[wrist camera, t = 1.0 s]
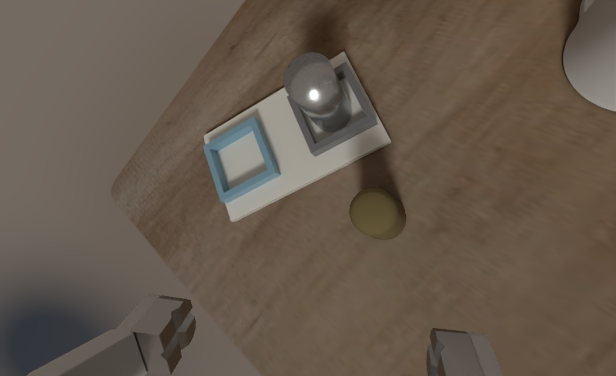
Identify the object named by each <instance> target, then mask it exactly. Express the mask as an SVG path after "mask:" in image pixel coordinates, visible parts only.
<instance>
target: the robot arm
mask: <svg viewBox="0 0 616 376" xmlns="http://www.w3.org/2000/svg"><path fill="white" fill-rule="evenodd" d="M563 64H564V69H565V73H566V75H567V78H568V80H569V81H570V83H571V84H572V86H573V87H574V88H575V89H576V91H577V92H578V93H580V94H581V95H582V96H583V97H584V98H586V99H587V100H589V101H590V102H592V103H594V104H596V105H598V106H600V107H603V108H605V109H608V110H612V111H616V0H582V2H581V5H580V12H579V21H578V23H577V25H576V27H575V28H574V30H573V31H572V33H571V34H570V36H569V38H568V40H567V42H566V45H565V49H564V54H563ZM191 309H192V304H191V301H190V300H188V299H182V298H175V297H169V296H160V295H153V294H149V295H147V296H145V297H144V298H143V299H142V300H141V301H140V303H139V304H138V305H137V306H136V307H135V308H134V309H133V310H132V312H131V313H130V314H129V315H128V316H127V317H126V318H125V319H124V321H123V322H122V323H121V324H120V325H119V326H118V327H117V328H116V330H109V331H108V332H106V333H104V334H102V335H100V336H98V337H96V338H94V339H93V340H91V341H89V342H87V343H85V344H83V345H81V346H79V347H78V348H76V349H74V350H72V351H70V352H68V353H67V354H64V355H63V356H61V357H59V358H57V359H55V360H54V361H52V362H50V363H48V364H46V365H44V366H42V367H40V368H38V369H37V370H35V371H33V372H31V373H29V374H28V375H27V376H145V375H146V374H147V372H152V373H160V374H167V375H171V374H172V372H173V371H174V369H175V367H176V365H177V364H178V362H179V360H180V359H181V357H182V355H181V350H182V349H184V348H185V347H187V346H188V345H189V344H190V342H191V340H192V338H193V335H194V332H195V328H196V322H195V317H194V316H193V315H192V314H191V313H190V310H191ZM430 340H431V345H430V346H428V349H427V359H426V365H427V373H428V376H504V375H503V372H502V370H501V367H500V365H499V363H498V360H497V358H496V356H495V353H494V351H493V348H492V346H491V344H490V341H489V339H488V337H487V336H486V335H485V334H483V333H474V332H465V331H456V330H447V329H438V328H432V330H431V334H430Z"/></svg>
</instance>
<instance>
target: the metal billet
mask: <svg viewBox="0 0 616 376" xmlns="http://www.w3.org/2000/svg"><path fill="white" fill-rule="evenodd" d="M284 87H285V90H286V92H287V93H288V95H289V96H290V97H291V98H292V99H293V100H294V101H295V102H296V103H297V105H298V106H299V107H300V108H301V109H302V110H303V111H304V112H305V113H306V114H307V116H308V117H309V118H310V119H311V120H312V121H313V122H314V123H315V124H316V125H317V127H318V128H320V129H321V130H323V131H326V132H335V131H338V130H340V129H342V128H343V127H345V126H346V125H347V123H348V122H349V121H350V119H351V116H352V105H351V102H350V100H349V98H348V96H347V94H346V92H345V90H344V89H343V87H342V85H341V83H340V81H339V79H338V77H337V75H336V73H335V71H334V69H333V67H332V65H331V63H330V61H329V60H328V59H327V58H326V57H325V56H324V55H322V54H320V53H315V52H310V53H305V54H302V55H300V56H298V57H297V58H296V59H294V60H293V61H292V62H291V63H290V65H289V66H288V68H287V70H286V72H285V75H284Z"/></svg>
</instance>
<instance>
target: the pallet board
mask: <svg viewBox="0 0 616 376" xmlns="http://www.w3.org/2000/svg"><path fill="white" fill-rule="evenodd" d="M329 61H330V63H331V65H332V67H333V69H334V71H335V73H336V75H337V77H338V79H339V81H340V83H341V85H342V87H343V89H344V90H345V92H346V94H347V96H348V98H349V100H350V102H351V105H352V116H351V119H350V121H349V122H348V123H347V125H346V126H345V127H343V128H342V129H340V130H338V131H335V132H326V131H323V130H321V129H320V128H318V127H317V125H316V124H315V123H314V122H313V121H312V120H311V119H310V118H309V117H308V116H307V114H306V113H305V112H304V111H303V110H302V109H301V108H300V107H299V106H298V105H297V103H296V102H295V101H294V100H293V99H292V98H291V97H290V96H289V95H288V93H287V92H286V90H285V87H284V88H282V89H281V90H279V91H277V92H276V93H274V94H272V95H271V96H269V97H267V98H266V99H264V100H262V101H261V102H259V103H258V104H256V105H254V106H253V107H251V108H249V109H248V110H246V111H244V112H243V113H241V114H239V115H238V116H236V117H234V118H233V119H231V120H229V121H228V122H226V123H224V124H223V125H221V126H219V127H218V128H216V129H214V130H213V131H211V132H209V133H208V134H206V135H204V136H203V137H204V140H205V143H206V145H204V146H203V148H204V151H205V154H206V158H207V161H208V164H209V167H210V170H211V173H212V176H213V179H214V182H215V185H216V189H217V192H218V195H219V198H220V201H221V202H225V204H226V207H227V210H228V213H229V216H230V219H231V222H235V221H237V220H239V219H241V218H243V217H245V216H247V215H249V214H251V213H253V212H255V211H257V210H259V209H261V208H263V207H265V206H267V205H269V204H271V203H273V202H275V201H277V200H279V199H281V198H283V197H285V196H287V195H289V194H291V193H293V192H295V191H297V190H299V189H301V188H303V187H305V186H307V185H309V184H311V183H313V182H315V181H317V180H319V179H320V178H322V177H324V176H326V175H328V174H330V173H332V172H334V171H336V170H338V169H340V168H342V167H344V166H346V165H348V164H350V163H352V162H354V161H356V160H358V159H360V158H362V157H364V156H366V155H368V154H370V153H372V152H374V151H376V150H378V149H380V148H382V147H384V146H386V145H388V144H390V143H391V140H390V138H389V136H388V134H387V132H386V131H385V129H384V127H383V125H382V123H381V121H380V119H379V117H378V115H377V113H376V111H375V110H374V108H373V106H372V104H371V102H370V100H369V98H368V96H367V94H366V92H365V90H364V89H363V87H362V85H361V83H360V81H359V79H358V77H357V75H356V73H355V71H354V69H353V68H352V66H351V64H350V62H349V60H348V58H347V56H346V54H345V52H342V53H340V54H339V55H337V56H335V57H334V58H332V59H330V60H329Z"/></svg>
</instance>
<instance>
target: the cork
mask: <svg viewBox="0 0 616 376" xmlns="http://www.w3.org/2000/svg"><path fill="white" fill-rule="evenodd" d="M349 213H350V219H351V221H352V223H353V225H354V226H355V227H356V228H357V229H358V230H359V231H360V232H362V233H364V234H366V235H370V236H372V237H374V238H376V239H380V240H388V239H392V238H394V237H396V236H398V235H399V234H400V233H401V231H402V230H403V228H404V226H405V224H406V214H405V210H404V208H403V206H402V205H401V203H399V202H398V201H397V200H396V199H394V198H393V197H392V196H391V195H390V194H389V193H388V192H387V191H384V190H382V189H380V188H369V189H365V190H363V191H361V192H359V193H358V194H357V195H356V196H355V197H354V198H353V200H352V202H351V205H350V211H349Z"/></svg>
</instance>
